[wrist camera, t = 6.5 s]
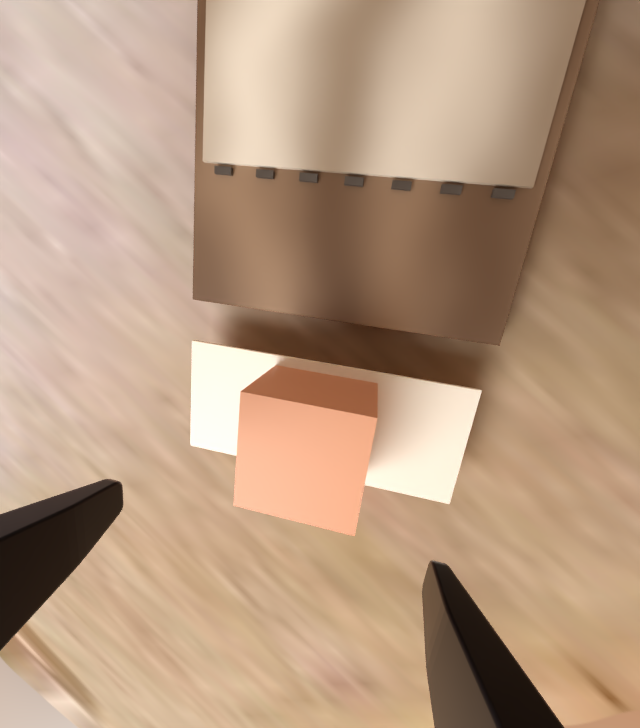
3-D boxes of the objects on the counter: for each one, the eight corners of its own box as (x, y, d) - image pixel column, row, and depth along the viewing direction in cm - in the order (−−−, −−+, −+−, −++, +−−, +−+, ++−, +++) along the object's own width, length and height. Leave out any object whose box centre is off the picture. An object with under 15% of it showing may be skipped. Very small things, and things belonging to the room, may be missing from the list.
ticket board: (637, -189, 10) (680, -268, 9) (489, 340, 15) (501, 346, 13) (218, -154, 12) (197, -213, 11) (206, 298, 17) (190, 299, 16)
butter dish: (480, 389, 14) (523, 431, 10) (448, 501, 15) (473, 577, 11) (194, 339, 16) (131, 357, 12) (192, 443, 17) (135, 490, 13)
